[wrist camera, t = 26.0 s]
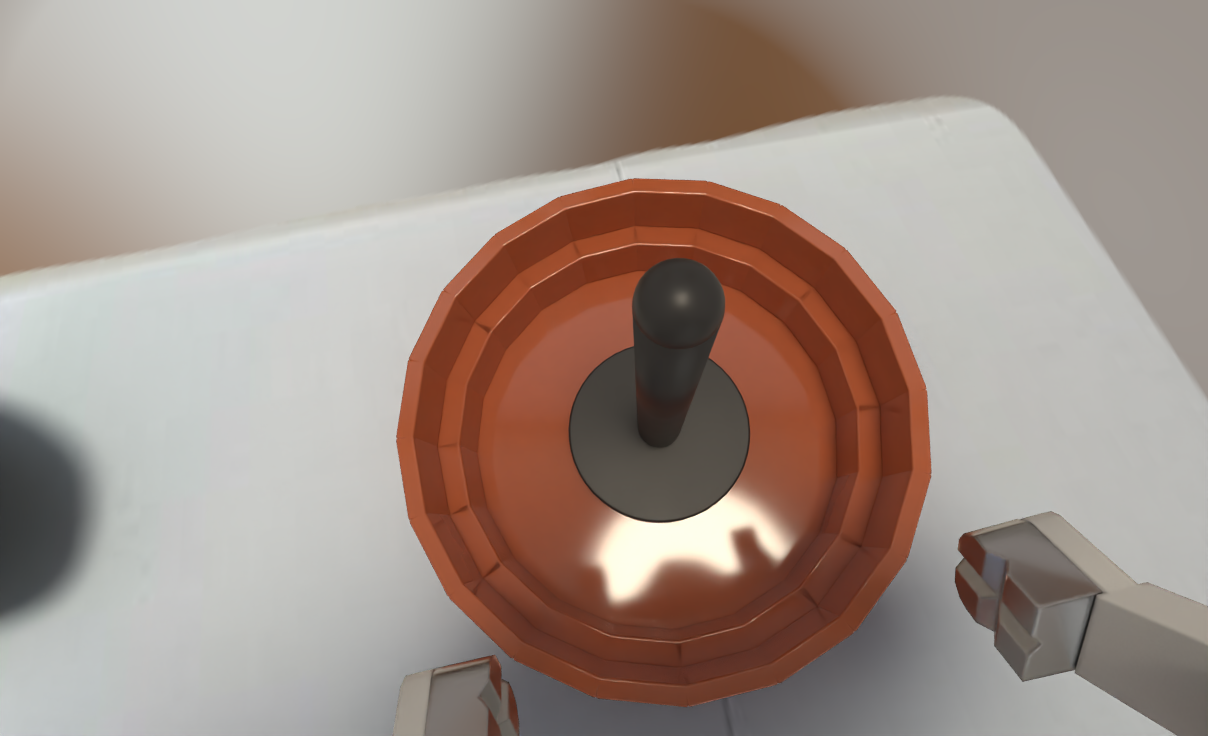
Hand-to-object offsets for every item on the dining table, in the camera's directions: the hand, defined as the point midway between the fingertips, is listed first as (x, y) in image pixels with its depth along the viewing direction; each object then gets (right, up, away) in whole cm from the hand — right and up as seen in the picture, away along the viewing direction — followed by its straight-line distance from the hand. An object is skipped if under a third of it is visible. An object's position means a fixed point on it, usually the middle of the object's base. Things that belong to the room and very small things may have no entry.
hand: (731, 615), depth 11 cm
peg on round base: (0, +2, +15) cm, 15 cm away
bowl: (0, +1, +16) cm, 16 cm away
